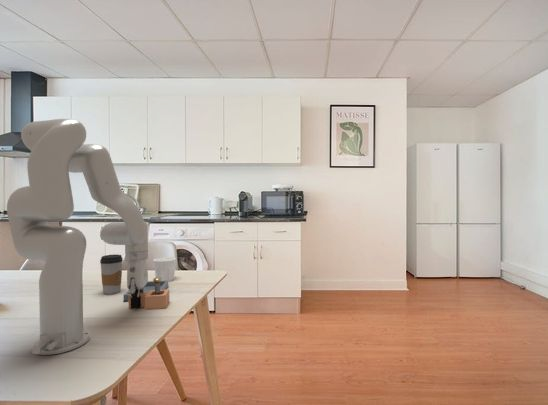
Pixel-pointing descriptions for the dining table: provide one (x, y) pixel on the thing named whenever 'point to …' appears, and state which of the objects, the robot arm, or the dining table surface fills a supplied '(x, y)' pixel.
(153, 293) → the orange flat handled frame
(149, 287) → the tray
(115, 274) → the coffee cup
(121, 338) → the dining table surface
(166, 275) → the cup
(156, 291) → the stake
